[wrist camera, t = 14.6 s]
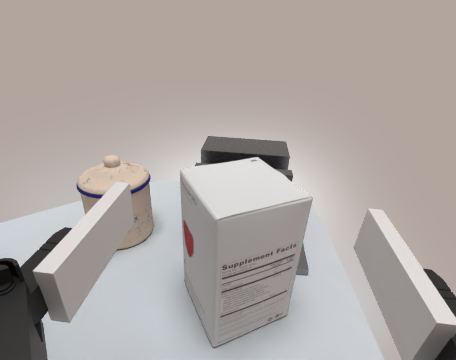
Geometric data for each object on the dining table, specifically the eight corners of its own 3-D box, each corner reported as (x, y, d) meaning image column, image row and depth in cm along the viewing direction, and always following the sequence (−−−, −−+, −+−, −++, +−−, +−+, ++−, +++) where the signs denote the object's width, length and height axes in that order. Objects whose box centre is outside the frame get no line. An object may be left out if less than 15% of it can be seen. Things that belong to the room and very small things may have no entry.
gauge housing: (188, 263, 36) (185, 180, 30) (207, 201, 49) (208, 136, 43) (307, 275, 35) (326, 191, 29) (293, 209, 48) (305, 143, 42)
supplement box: (182, 281, 33) (176, 166, 26) (248, 260, 37) (258, 154, 30) (211, 351, 26) (214, 219, 19) (289, 317, 29) (316, 194, 23)
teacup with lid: (108, 210, 45) (95, 142, 40) (162, 215, 45) (157, 147, 39) (62, 264, 35) (36, 181, 29) (133, 271, 34) (120, 188, 29)
